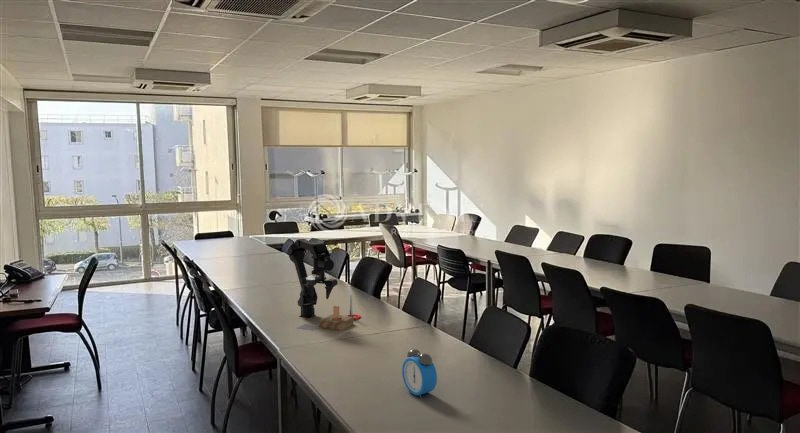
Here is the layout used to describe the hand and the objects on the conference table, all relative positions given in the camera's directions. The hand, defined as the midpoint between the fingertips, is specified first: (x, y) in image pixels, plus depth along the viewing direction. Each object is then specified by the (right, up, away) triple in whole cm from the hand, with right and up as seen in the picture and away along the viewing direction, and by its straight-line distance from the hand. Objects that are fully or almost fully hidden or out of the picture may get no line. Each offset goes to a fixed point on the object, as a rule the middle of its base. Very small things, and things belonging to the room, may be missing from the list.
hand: (319, 298), depth 292 cm
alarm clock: (+48, -21, -90) cm, 104 cm away
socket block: (+9, -13, -7) cm, 18 cm away
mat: (-4, -13, -9) cm, 17 cm away
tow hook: (+16, -12, +9) cm, 22 cm away
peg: (+9, -13, -7) cm, 17 cm away
